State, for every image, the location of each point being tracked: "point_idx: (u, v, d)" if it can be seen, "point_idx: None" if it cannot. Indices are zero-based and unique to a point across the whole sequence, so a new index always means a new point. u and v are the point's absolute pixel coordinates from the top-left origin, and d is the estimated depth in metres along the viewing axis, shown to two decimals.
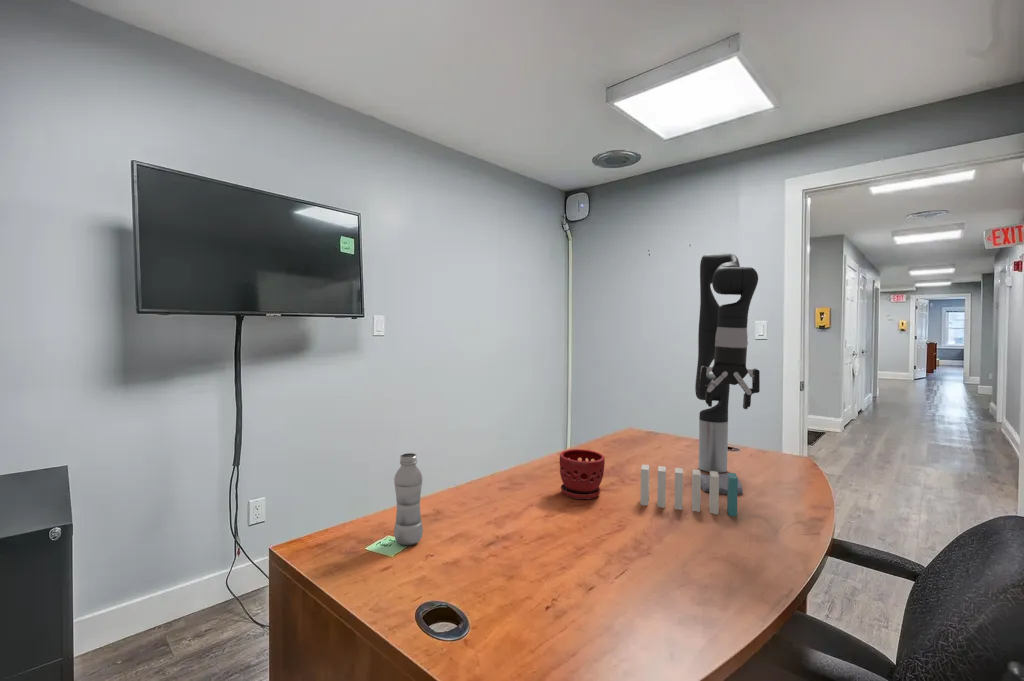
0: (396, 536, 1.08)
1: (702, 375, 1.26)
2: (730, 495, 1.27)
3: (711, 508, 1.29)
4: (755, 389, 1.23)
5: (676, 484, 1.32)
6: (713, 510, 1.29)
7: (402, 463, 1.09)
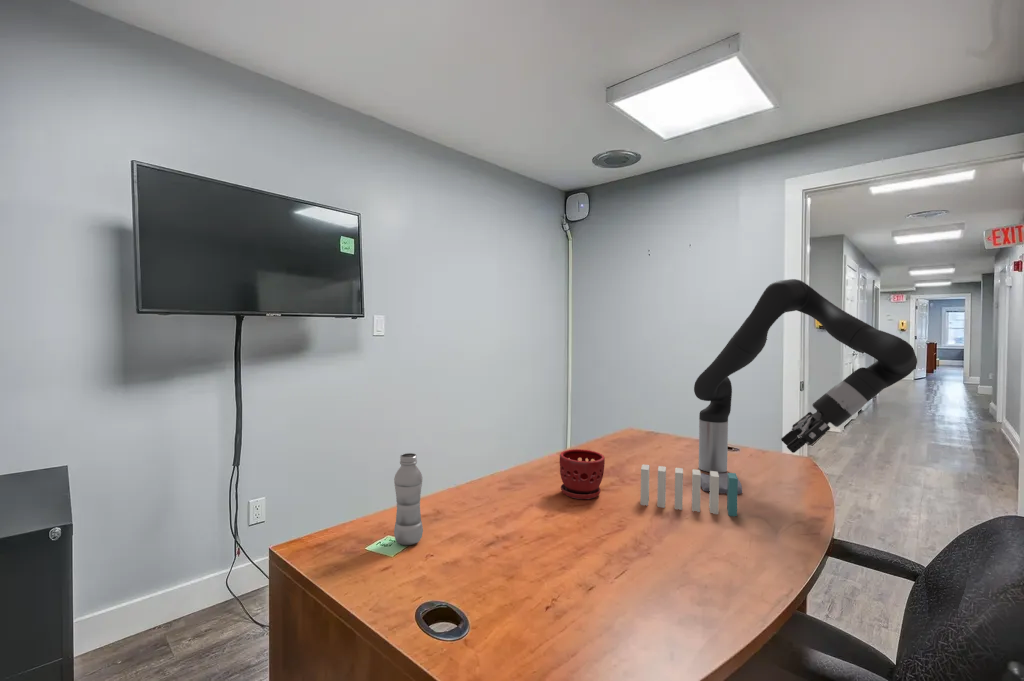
0: (396, 536, 1.08)
1: None
2: (730, 495, 1.27)
3: (711, 508, 1.29)
4: (802, 431, 1.29)
5: (676, 484, 1.32)
6: (713, 510, 1.29)
7: (402, 463, 1.09)
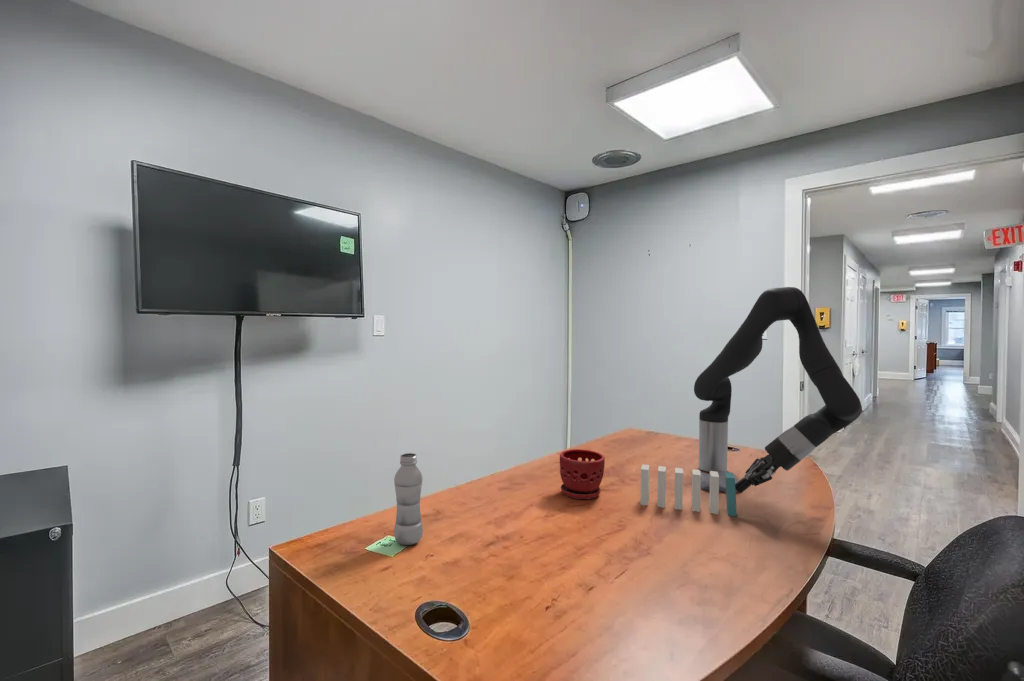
0: (396, 536, 1.08)
1: None
2: (728, 495, 1.27)
3: (711, 508, 1.29)
4: None
5: (676, 484, 1.32)
6: (713, 510, 1.29)
7: (402, 463, 1.09)
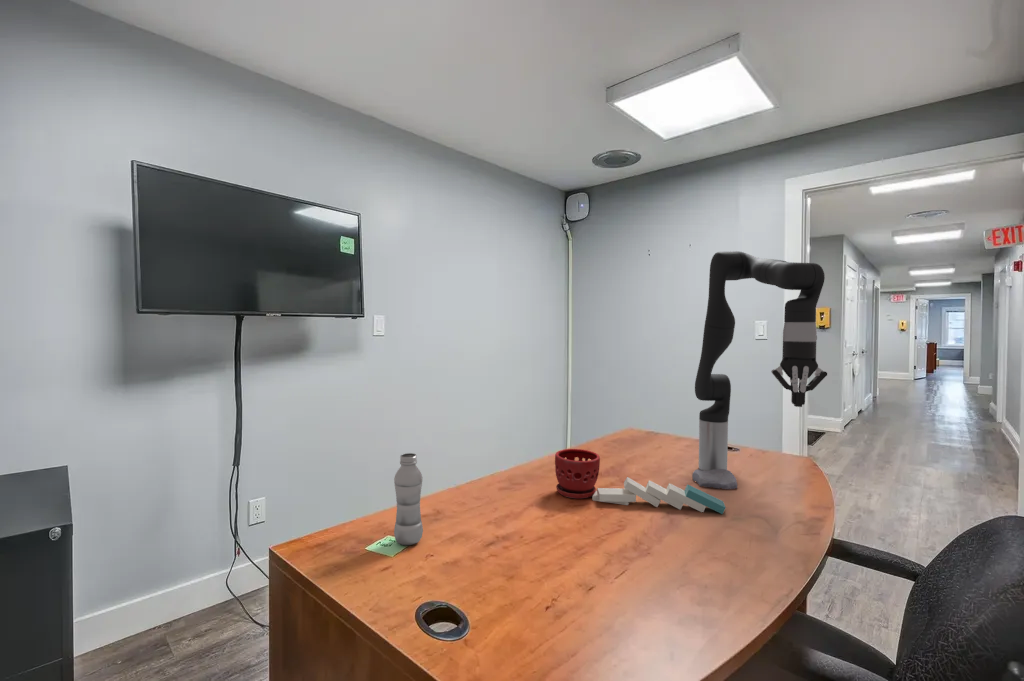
0: (396, 536, 1.08)
1: (779, 378, 1.27)
2: (703, 503, 1.29)
3: (698, 509, 1.30)
4: (810, 386, 1.24)
5: (635, 492, 1.34)
6: (700, 508, 1.30)
7: (402, 463, 1.09)
